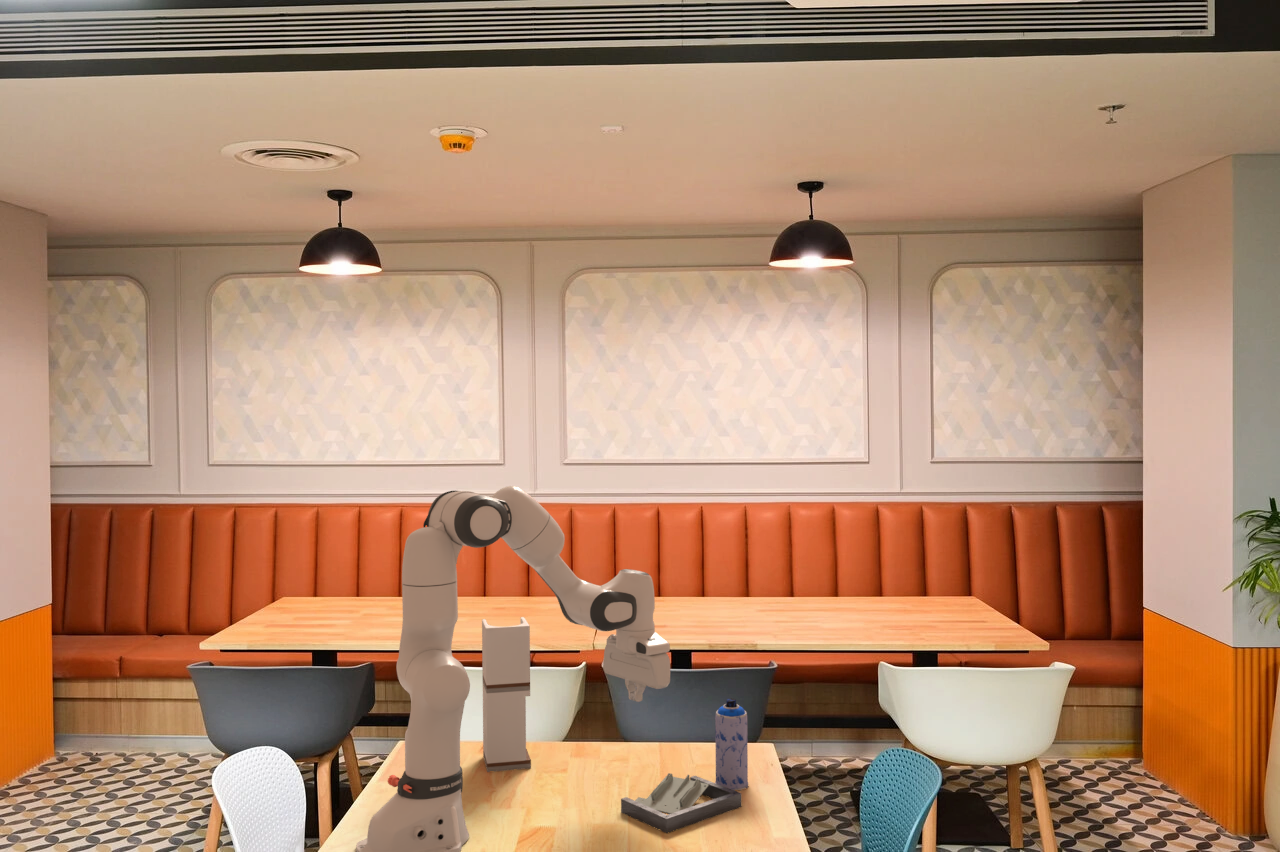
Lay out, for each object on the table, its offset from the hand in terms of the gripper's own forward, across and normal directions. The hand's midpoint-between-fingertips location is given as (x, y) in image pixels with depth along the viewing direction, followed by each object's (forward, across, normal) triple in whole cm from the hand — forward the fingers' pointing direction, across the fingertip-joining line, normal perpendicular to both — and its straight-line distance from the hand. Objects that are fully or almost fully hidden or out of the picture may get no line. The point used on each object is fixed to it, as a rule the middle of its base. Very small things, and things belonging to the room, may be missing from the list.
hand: (635, 700), depth 240 cm
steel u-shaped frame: (+21, +14, +1) cm, 25 cm away
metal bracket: (+22, +11, +2) cm, 24 cm away
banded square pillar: (+21, -37, -11) cm, 44 cm away
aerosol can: (+21, +11, +20) cm, 31 cm away
